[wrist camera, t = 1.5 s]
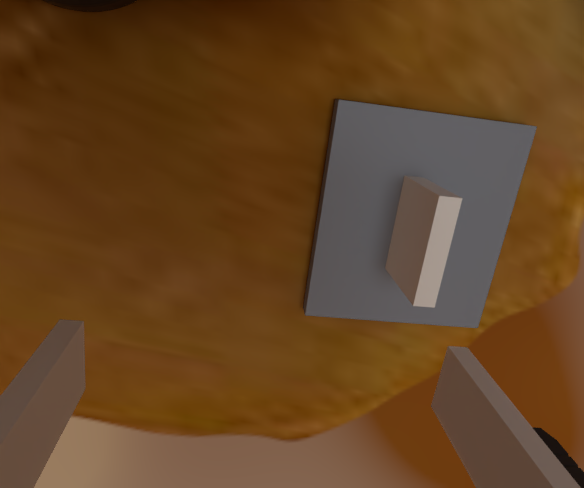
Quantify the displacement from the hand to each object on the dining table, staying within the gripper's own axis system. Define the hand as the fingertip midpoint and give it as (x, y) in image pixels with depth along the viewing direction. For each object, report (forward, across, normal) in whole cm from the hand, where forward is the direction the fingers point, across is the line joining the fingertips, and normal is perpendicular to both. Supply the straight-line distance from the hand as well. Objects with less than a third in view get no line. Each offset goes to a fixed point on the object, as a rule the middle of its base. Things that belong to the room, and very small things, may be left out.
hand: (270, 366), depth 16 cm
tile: (+21, +12, 0) cm, 24 cm away
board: (+22, +13, 0) cm, 26 cm away
